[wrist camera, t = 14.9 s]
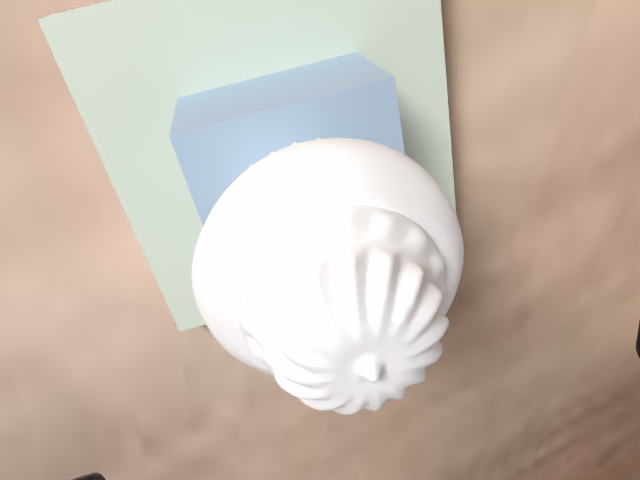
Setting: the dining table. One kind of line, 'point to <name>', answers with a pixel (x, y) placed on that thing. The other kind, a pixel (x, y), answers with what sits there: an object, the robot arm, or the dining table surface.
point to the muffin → (331, 271)
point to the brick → (280, 119)
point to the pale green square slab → (220, 70)
